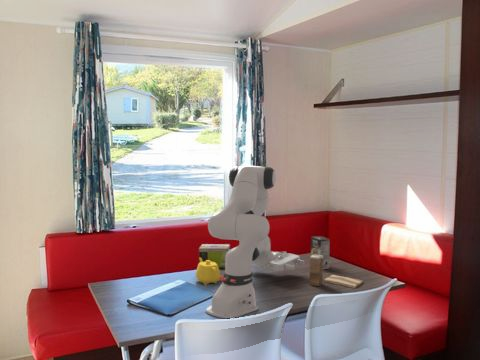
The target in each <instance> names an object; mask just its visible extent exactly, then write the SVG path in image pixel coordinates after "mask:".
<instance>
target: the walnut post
mask: <svg viewBox="0 0 480 360" xmlns="http://www.w3.org/2000/svg"><path fill="white" fill-rule="evenodd" d="M323 274H324V269H323V256H322V255H316V254H314V255H312V256H311V255H310V257H309V286H313V285H314V287H317V286H319V287H320V286H323V285H324V284H323V283H324V279H323V278H324V275H323Z"/></svg>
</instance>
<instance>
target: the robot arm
mask: <svg viewBox="0 0 480 360" xmlns="http://www.w3.org/2000/svg"><path fill="white" fill-rule="evenodd" d="M228 180H229V181H228V182H229V184H230V186H231V187H232V190H231V194H230V197H229V200H228V201H227V203H226V205H225V206H224V207H223V208H222V209H221V210H220V211H218V212H216V213H214V214H212V216H211V217H210V218H209V220H208V222H207V223H208V224H207V229H208V232H209V234H210V235H211V236H212V237H213V238H216V239H220V240H230V241H232V240H234V241H239V244H238V245H237V246H235V247H233V248H230V250H229V251H228V252H227V253H226V256H225V273H224V276H219V281H221V282H222V283H221V284H220V286H219V287H218V289H217V290H216V292H215V293H214V294H213V295H212V298H211V304H210V305H209V306H208V307H206V308H205V312H206V313H207V314H209V315H211V316H214V317H217V318H220V319H227V318H233V319H235V317H236V318H238V317H241V316H243V315H246V314H249V313H252V312H254V311H257V310H258V306H257V304H256V295H255V294H256V292H255V288H254V285H253V281H254V280H253V279H254V275H253V271H252V270H253V268H252V267H253V266H255V267H259V268H266V269H269V270H271V271H275V272H283V271H284V270H295V269H296V265H298V264H299V265H301V266H304V265H305V260H301V256H300V255H298V254H294V253H290V252H289V253H287V251H273V250H271V247H272V245H271V243H272V242H271V238H270V236H269V233H270V223H269V220H268V219H267V217H266V216H263V215H264V213H265V212H266V210H267V209H268V205H269V190H270V189H272V188H274V186H275V183H276V181H277V175H276V172H275V169H273V167H270V166H259V165H241V166H240V165H236V166H233V167H231V169H230V170H229V173H228ZM219 281H218V282H219Z"/></svg>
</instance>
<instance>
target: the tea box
mask: <svg viewBox="0 0 480 360" xmlns="http://www.w3.org/2000/svg"><path fill="white" fill-rule="evenodd" d="M229 250H231V244H230V243H225V244H222V243H221V244H219V243H218V244H216V243H215V244H213V243H211V244H210V243H209V244H208V243H205V244H204V243H202V244H201V245H200V246H199V248H198V264H199V263H200V259H199V257H201V258H202V260H203V262H206V260H210V261H212V262H215V263H216V264H217V265H218V268H219V270H220V276H224V273H225V256H226V253H227V252H228V251H229Z"/></svg>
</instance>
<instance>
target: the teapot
mask: <svg viewBox="0 0 480 360" xmlns="http://www.w3.org/2000/svg"><path fill="white" fill-rule="evenodd" d="M199 259H200V263H199V262H198V264H197V267H196V270H195V278H196V280H197V281H198V282H199V283H203V284H204V286H207V285H209V284H210V283H211V284H212V283H213V284H218V282H219V276H220V270H219V268H218V265H217V264H216V263H215V262H212V261H210V260H206V262H203V260H202V258H201V257H199V256H198V260H199Z"/></svg>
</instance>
